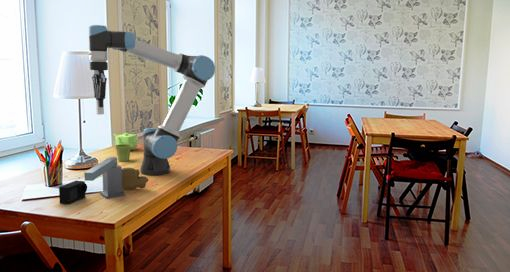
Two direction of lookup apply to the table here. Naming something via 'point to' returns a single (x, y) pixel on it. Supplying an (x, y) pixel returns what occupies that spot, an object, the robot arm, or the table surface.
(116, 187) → the pivot post
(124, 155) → the plant pot
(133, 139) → the kettle
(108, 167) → the swing arm
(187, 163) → the table surface
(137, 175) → the wooden carving
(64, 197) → the digital camera
